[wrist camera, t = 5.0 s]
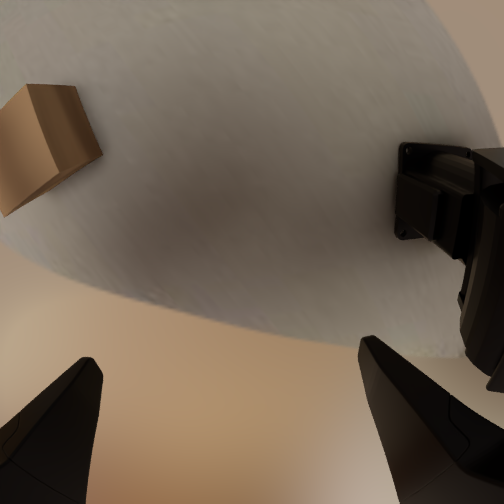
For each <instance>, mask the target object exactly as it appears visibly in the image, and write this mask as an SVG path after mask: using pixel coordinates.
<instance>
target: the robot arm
mask: <svg viewBox="0 0 504 504" xmlns="http://www.w3.org/2000/svg"><path fill="white" fill-rule="evenodd" d="M407 147H408V148H409V152H408V153H406V148H407ZM466 153H467V156H466ZM395 214H396V223H395V236H396V237H397V238H398V239H400V240H408V239H416V238H426V239H427V240H428V241H432V242H433V243H435V244H436V245H437V246H438V247H439V248H441V249H442V250H443V251H444V252H445V253H447V254H448V255H449V256H450V257H451V258H452V259H458V260H459V261H461V262H462V263H463V264H464V265H465V266H466V268H465V274H464V279H463V284H462V289H461V291H460V292H459V295H458V299H457V301H458V304H459V306H460V309H461V312H462V313H461V316H460V333H461V336H462V339H463V342H464V345H465V347H466V349H465V354H466V356H467V357H468V358H469V360H470V361H471V362H472V363H473V365H475V366H476V367H477V368H478V369H480V370H481V371H482V372H483V373H485V374H486V375H488V376H490V377H491V378H490V380H489V382H488V383H487V385H486V389H487V390H488V391H493V392H500V393H504V148H486V149H473V150H471V149H470V148H467V147H461V146H452V145H441V144H430V143H415V142H403V143H402V144H401V146H400V149H399V175H398V177H397V193H396V207H395ZM402 230H404V231H403V233H402V234H400V233H401V231H402ZM358 362H359V366H360V370H361V375H362V379H363V383H364V388H365V392H366V397H367V401H368V404H369V407H370V410H371V413H372V416H373V419H374V421H375V425H376V428H377V430H378V434H379V436H380V440H381V442H382V446H383V448H384V452H385V455H386V458H387V462H388V465H389V468H390V471H391V474H392V478H393V482H394V485H395V489H396V492H397V496H398V499H399V502H400V504H504V429H502V428H500V427H499V426H497V425H496V424H494V423H492V422H490V421H489V420H487V419H485V418H484V417H482V416H481V415H479V414H478V413H476V412H474V411H473V410H471V409H470V408H468V407H467V406H466V405H464V404H463V403H462V402H460V401H459V400H458V399H456V398H455V397H454V396H453V395H450V393H449V392H447V391H446V390H445V389H443V388H442V387H441V386H439V385H438V384H437V383H436V382H434V381H433V380H432V379H431V378H429V377H428V376H427V375H425V374H424V373H423V372H421V371H420V370H419V369H418V368H416V367H415V366H414V365H412V364H411V363H410V362H409V361H407V360H406V359H404V358H403V357H402V356H401V355H399V354H398V353H397V352H396V351H394V350H393V349H392V348H390V347H389V346H388V345H386V344H385V343H384V342H383V341H381V340H380V339H379V338H377V337H376V336H374V335H370V336H366V337H362V338H361V341H360V346H359V352H358ZM102 384H103V373H102V371H101V370H100V368H99V366H98V365H97V363H96V362H95V360H94V359H93V358H91V357H82V358H80V359H79V360H78V361H77V362H76V363H74V364H73V365H72V366H71V367H70V368H69V369H68V370H66V371H65V372H64V373H63V374H62V375H61V376H59V377H58V378H57V379H56V380H55V381H54V382H53V383H51V384H50V385H49V386H48V387H47V388H46V389H45V390H43V391H42V392H41V393H40V394H39V395H38V396H37V397H35V398H34V400H32V401H31V402H30V403H29V404H28V405H26V406H25V407H24V408H23V409H22V410H21V411H20V412H19V413H18V414H16V415H15V416H14V417H13V418H12V419H11V420H10V421H9V422H7V423H6V424H5V425H4V426H3V427H1V428H0V504H86V494H87V485H88V476H89V469H90V462H91V455H92V448H93V443H94V438H95V432H96V427H97V422H98V417H99V410H100V401H101V392H102Z"/></svg>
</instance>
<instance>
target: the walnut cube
mask: <svg viewBox="0 0 504 504" xmlns="http://www.w3.org/2000/svg"><path fill="white" fill-rule="evenodd" d="M102 155H103V154H102V151H101V149H100V147H99V145H98V142H97V140H96V138H95V135H94V133H93V131H92V128H91V126H90V123H89V121H88V119H87V116H86V114H85V111H84V109H83V106H82V103H81V101H80V98H79V96H78V93H77V90H76V87H75V86H66V85H48V84H26V85H24V86H23V87H22V88H21V89H20V90H19V91H18V92H17V93H16V94H15V95H14V96H13V97H12V98H11V99H10V100H9V101H8V102H7V103H6V105H5V106H4V107H3V108H2V109H1V110H0V210H1V212H2V214H3V216H4V217H6V216H8V215H9V214H11V213H12V212H14V211H15V210H17V209H19V208H20V207H22V206H24V205H25V204H27V203H29V202H30V201H32V200H34V199H35V198H37V197H39V196H41V195H43V194H44V193H46V192H48V191H50V190H51V189H52V188H54V187H55V186H56V185H58V184H59V183H61V182H62V181H63V180H65V179H66V178H68V177H69V176H71V175H72V174H74V173H75V172H77V171H78V170H80V169H81V168H83V167H84V166H86V165H87V164H89V163H90V162H92V161H94V160H95V159H97V158H98V157H100V156H102Z"/></svg>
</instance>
